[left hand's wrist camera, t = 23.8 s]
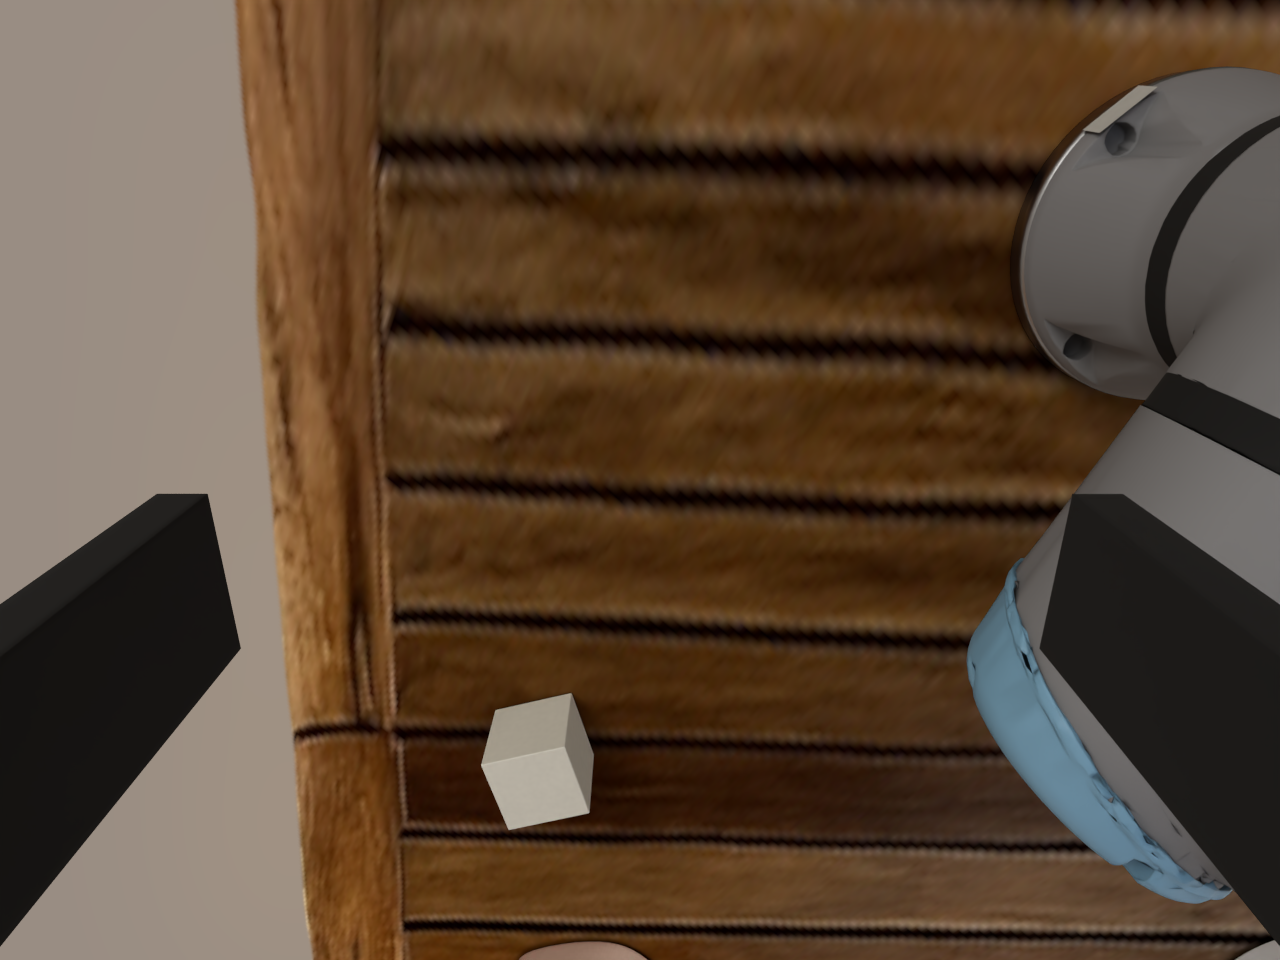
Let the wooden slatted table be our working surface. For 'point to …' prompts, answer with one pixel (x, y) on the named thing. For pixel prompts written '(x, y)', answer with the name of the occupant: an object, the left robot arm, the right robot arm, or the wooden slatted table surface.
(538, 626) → the wooden slatted table surface
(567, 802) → the plastic block
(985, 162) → the wooden slatted table surface
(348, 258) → the wooden slatted table surface
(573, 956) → the anatomical model
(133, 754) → the left robot arm
